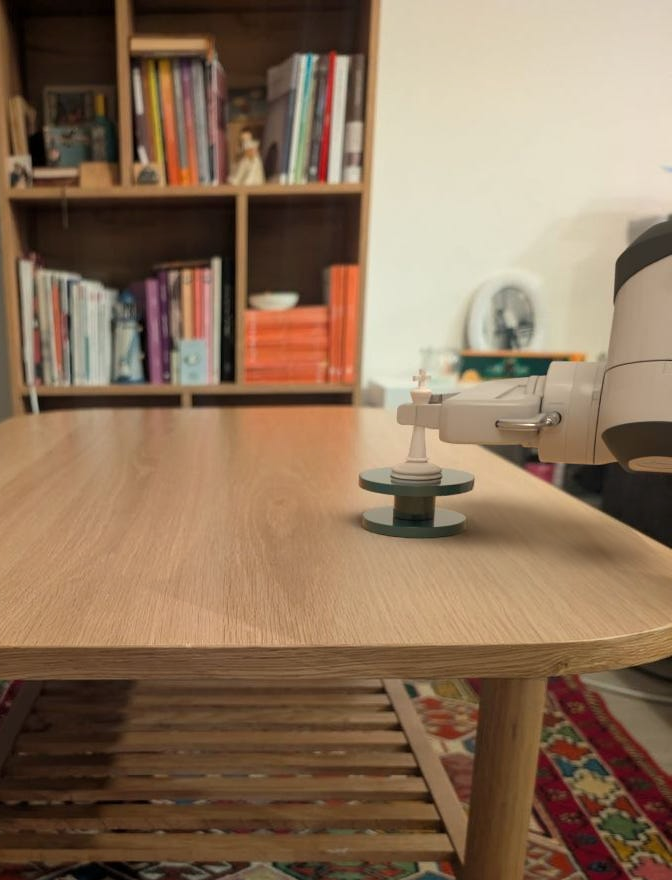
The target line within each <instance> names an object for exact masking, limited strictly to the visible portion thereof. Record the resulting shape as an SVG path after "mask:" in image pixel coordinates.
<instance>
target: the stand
mask: <svg viewBox="0 0 672 880" xmlns="http://www.w3.org/2000/svg"><path fill="white" fill-rule="evenodd" d="M392 467H393V466H385V467H377V468H376V467H375V468H371V469H366V470H364V471H362V472H360V473H359V474H358V484H357V485H358V487H359V488H360V489H362V490H364V491H366V492H371V493H375V494H381V495H387V496H393V505H391V506H383V507H382V506H381V507H377V508H372V509H369V510H366V511H365V512H363V513H362V516H361V526H362V528H363V529H365V530H367V531H369V532H372V533H374V534H379V535H383V536H388V537H398V538H411V539H412V538H414V539H417V538H418V539H428V538H429V539H431V538H441V537H442V538H444V537H448V536H453V535H458V534H460V533H462V532H464V531H465V530H466V528H467V527H466V526H467V517H466V516H465V515H464V514H463V513H461V512H458V511H456V510H452V509H447V508H442V507H436V503H437V502H436V501H437V497H450V496H457V495H461V494H462V495H463V494H467V493H469V492H472V491H473V490H474V489H475V483H476V476H475V475H474V474H473V473H470V472H467V471H464V470H460V469H454V468H447V467H441V468H442V472H441V473H442V477H440V478H437V479H431V480H407V479H399V478H395V477H392V476H391V475H390V474H391V472H392V470H391V468H392Z"/></svg>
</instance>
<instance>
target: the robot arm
mask: <svg viewBox="0 0 672 880" xmlns="http://www.w3.org/2000/svg"><path fill="white" fill-rule="evenodd" d="M613 282H614V283H613V301H612V302H613V311H612V312H613V313H612V319H611V327H610V334H609V342H608V348H607V354H606V355H607V356H606V361H570V360H569V361H562V360H559V361H557V360H555V361H554V360H553V361H551V362H550V364H549V366H548V369H547V373H546V375H530V376H526V377H525V376H524V377H513V378H502V379H494V380H493V379H492V380H488V381H483V382H481V383H478V384H476V385H473V386H472V387H470V388H468V389H466V390H464V391H453V392H445V393H444V392H443V393H442V392H441V393H437V392H435V393H434V392H432V394H431V397H430V399H429V402H428V404H421V403H413V402H404V403H402V404H399V405H398V406H397V410H396V422H397V424H399V425H401V426H414V425H416V426H420V427H425V429H430V430H438V439H439V441H440V442H442V443H446V444H452V445H477V446H478V445H480V446H481V445H482V446H484V445H485V446H490V445H491V446H509V445H510V446H511V445H513V446H514V445H521V446H522V448H535V449H537V453H538V460H539V461H540V462H541V463H553V464H554V463H555V464H571V465H573V464H574V465H591V466H592V465H593V466H598V465H606V464H610V463H611V464H612V463H618V464H619V465H620V467H621V468H622V469H623V471H625V472H626V473H628V474H638V475H639V474H641V475H659V476H672V220H667V221H661V222H659V223H656V224H653V225H651V226H650V227H649V228H647V229H646V230H645V231H643V232H642V233H641V234H639V236H637V238H635V239H634V240H633V241H632V242H631V243H630V244H629V245H628V246H627V247H626V248H625V249H624V250H623V252H622V253H621V254H620V255H619V256H618V257H617V258H616V261H615V264H614V279H613Z"/></svg>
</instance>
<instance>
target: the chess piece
mask: <svg viewBox="0 0 672 880" xmlns="http://www.w3.org/2000/svg"><path fill="white" fill-rule="evenodd" d="M426 372H427V369H426V368H419V371H418V375H413V376H412V382H418V383H417V384H418V385H417V387H416V388H412V389H410V391H409V392H410V398H411V400H412V403H421V404H428V402H429V399H430V397H431V394H432V393H433V390H432V389H431V388H427V387H426V381H427V382H429V381H432V375H431V374H429V375H426ZM425 430H426V428H425V427H420V426H416V425H413V428H412V435H411V439H410V440H411V441H410V446H409V451H408V455H407V456H406V457H404V460H406V461H404V462H401V463H398V464H395V465H393V466H391V467H392V468H391V470H392V472H391V474H390V475H391V476H392V477H395V478H399V479H407V480H431V479H437V478H440V477H442V473H441V472H442V468H443V467H441V466H439V465H437V464H434V463H432V462H429V460H430V458H429V457H428V455H427V448H426V446H427V445H426V431H425Z"/></svg>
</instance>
